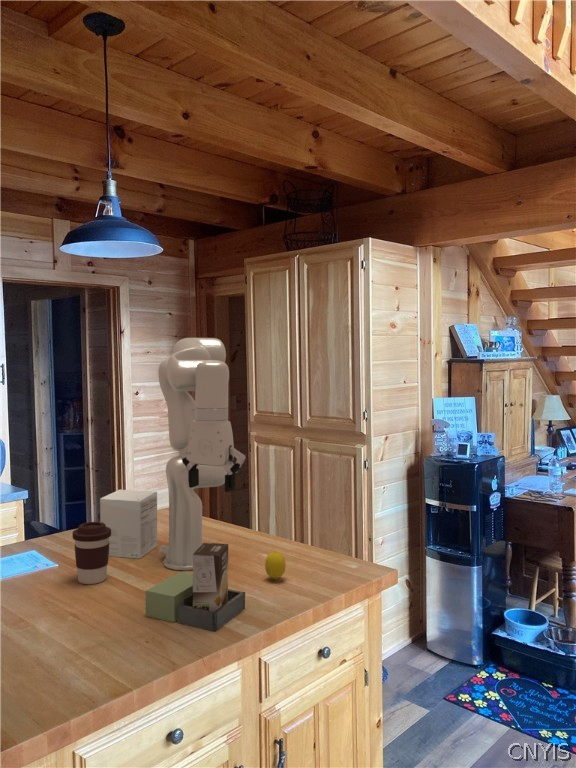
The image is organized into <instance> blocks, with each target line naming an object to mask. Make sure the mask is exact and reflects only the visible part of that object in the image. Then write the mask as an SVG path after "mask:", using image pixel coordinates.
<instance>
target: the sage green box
mask: <svg viewBox="0 0 576 768" xmlns="http://www.w3.org/2000/svg"><path fill="white" fill-rule="evenodd" d="M180 604H181V605H185V606H190V607H193V573H189V572H185V571H179V572H177V573H175V574H173V575H171V576H169V577H167V578H166V579H164V580H162V581H160V582H159V583H156V584H155V585H153V586H151V587H149V588H147V589H145V616H146V617H150V618H153V619H156V620H157V619H159V620H163V621H167V622H171V623H176V622H178V606H179V605H180Z"/></svg>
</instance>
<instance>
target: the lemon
mask: <svg viewBox="0 0 576 768" xmlns="http://www.w3.org/2000/svg"><path fill="white" fill-rule="evenodd" d="M264 567H265V572H266V574H267V575H268V577H270V578H272V579H273V580H274V581H276V580H278V579H279V578H281V577H282V576H283V575H284V573H285V571H286V560H285V556H284V555H283V554H282V553H281V552H279V551H277V550H273V551H272V552H271V553H269V554H268V555H267V557H266V558H265V562H264Z"/></svg>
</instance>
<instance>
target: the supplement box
mask: <svg viewBox="0 0 576 768" xmlns="http://www.w3.org/2000/svg"><path fill="white" fill-rule="evenodd" d="M99 511H100V512H99V516H100V517H99V520H100V521H99V522H102V523H104V524H105V525H106V527H109V528H110V529H111V536H110V537H109V557H118V558H125V559H126V558H128V559H137V560H138V559H142V558H143V557H145V556H146V555H147V554H148V553H149V552H151V551H152V550H154V549H155V548H156V547H158V491H149V490H134V489H133V490H132V489H118V490H116V491H114V492H112V493H109V494H107V495H105V496H102V497H100V499H99Z"/></svg>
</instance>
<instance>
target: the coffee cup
mask: <svg viewBox="0 0 576 768" xmlns="http://www.w3.org/2000/svg"><path fill="white" fill-rule="evenodd" d="M110 536H111V529H110V528H109V527H106V525H105V524H104V523H102V522H100V521H88V522H83V523H81V524H79V525H78V527H77V528H76V529H74V530H73V531H72V540H74V553H75V554H74V557H75V565H76V566H75V567H76V568H77V569H76V570H77V581H78V583H80V584H84V585H95V584H99V583H102V582H104V581H105V580H106V579H107V575H108V574H107V573H108V564H109V557H110V556H109V537H110Z"/></svg>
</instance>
